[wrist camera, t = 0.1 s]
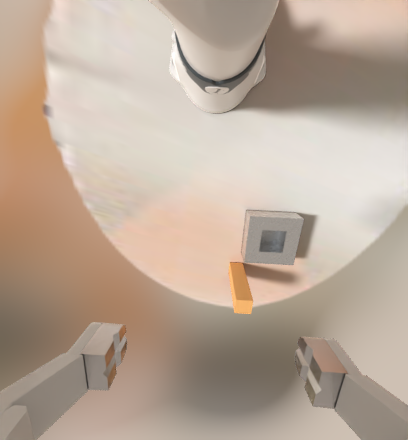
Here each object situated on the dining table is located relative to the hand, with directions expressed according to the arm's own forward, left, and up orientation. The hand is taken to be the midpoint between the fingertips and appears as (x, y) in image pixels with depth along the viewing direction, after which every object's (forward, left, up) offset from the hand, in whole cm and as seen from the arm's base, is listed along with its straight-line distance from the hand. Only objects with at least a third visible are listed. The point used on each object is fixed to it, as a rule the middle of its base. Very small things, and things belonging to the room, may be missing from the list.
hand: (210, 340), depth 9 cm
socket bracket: (+11, +15, -39) cm, 43 cm away
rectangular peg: (+22, +8, -39) cm, 45 cm away
